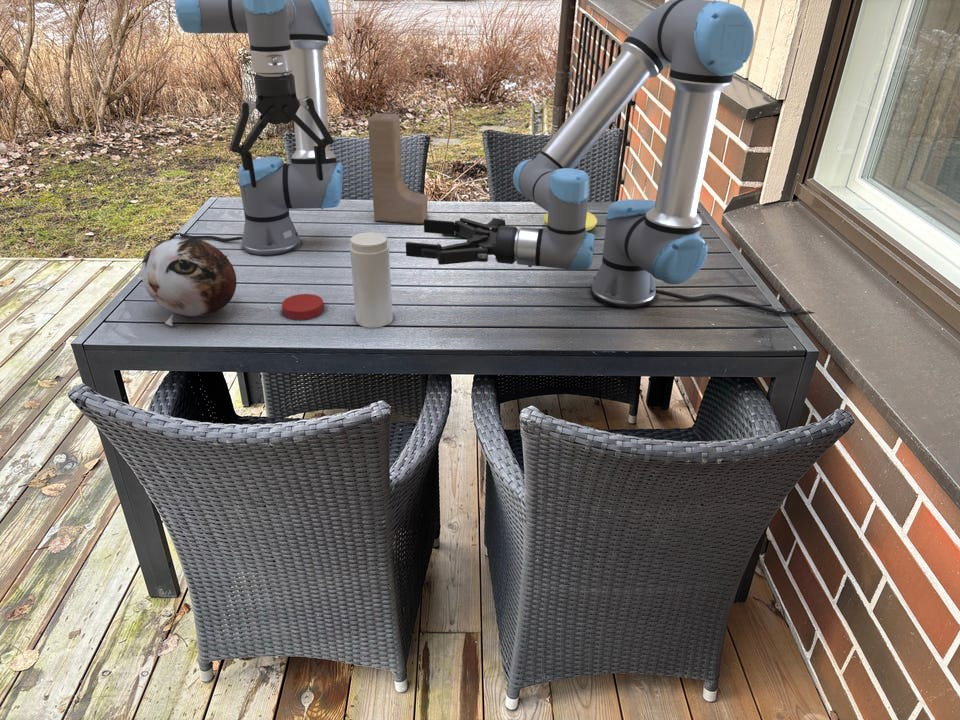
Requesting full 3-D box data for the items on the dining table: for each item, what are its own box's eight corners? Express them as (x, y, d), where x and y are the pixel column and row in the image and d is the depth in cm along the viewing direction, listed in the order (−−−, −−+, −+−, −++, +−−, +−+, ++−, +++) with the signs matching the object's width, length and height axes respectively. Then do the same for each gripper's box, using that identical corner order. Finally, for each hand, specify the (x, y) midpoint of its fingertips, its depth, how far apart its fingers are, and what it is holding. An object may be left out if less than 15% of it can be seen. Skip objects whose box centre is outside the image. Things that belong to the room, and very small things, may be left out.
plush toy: (103, 301, 154) (138, 216, 155) (170, 324, 169) (201, 246, 171) (169, 326, 143) (206, 234, 145) (233, 348, 159) (266, 265, 160)
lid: (279, 320, 159) (278, 312, 158) (286, 302, 167) (284, 294, 166) (321, 319, 160) (320, 311, 159) (326, 301, 168) (325, 293, 167)
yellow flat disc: (559, 216, 220) (561, 193, 217) (605, 227, 212) (608, 204, 209) (532, 230, 209) (533, 207, 206) (580, 242, 201) (582, 218, 198)
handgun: (511, 219, 210) (493, 234, 198) (511, 228, 211) (492, 244, 199) (461, 212, 215) (440, 226, 203) (461, 221, 217) (440, 236, 204)
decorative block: (423, 224, 212) (420, 120, 197) (373, 221, 214) (367, 118, 199) (428, 216, 219) (425, 114, 203) (380, 213, 220) (374, 112, 205)
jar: (355, 328, 156) (348, 246, 146) (356, 311, 163) (349, 232, 153) (393, 326, 157) (389, 245, 147) (392, 309, 164) (388, 230, 154)
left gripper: (207, 80, 130) (226, 194, 141) (342, 73, 139) (350, 180, 150) (203, 73, 136) (222, 183, 147) (333, 67, 145) (342, 171, 156)
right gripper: (506, 288, 136) (398, 277, 140) (524, 241, 157) (431, 233, 161) (507, 251, 132) (397, 241, 136) (526, 208, 153) (430, 200, 157)
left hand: (287, 182), depth 148 cm, fingers open, 13 cm apart
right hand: (415, 236), depth 148 cm, fingers open, 13 cm apart
